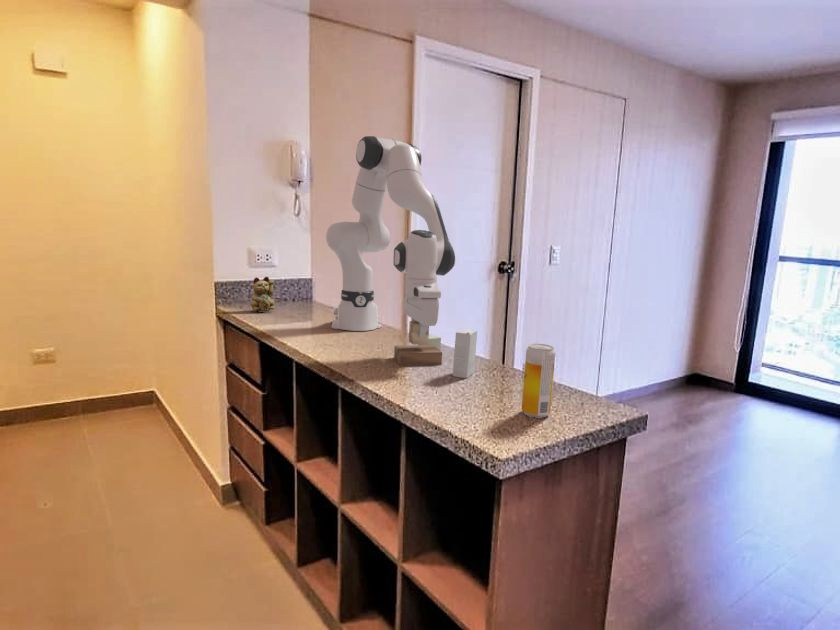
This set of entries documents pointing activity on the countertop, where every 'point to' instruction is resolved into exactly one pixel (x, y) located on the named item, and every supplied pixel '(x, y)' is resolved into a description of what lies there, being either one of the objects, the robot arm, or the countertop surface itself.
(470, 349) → the skincare box
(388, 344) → the countertop surface
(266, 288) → the decorative figurine
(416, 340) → the oak block
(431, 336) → the sage cube
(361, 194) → the robot arm
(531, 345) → the beer can
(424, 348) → the walnut block
